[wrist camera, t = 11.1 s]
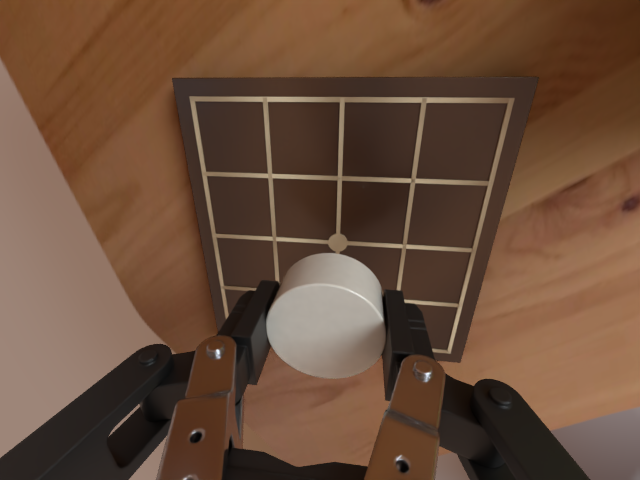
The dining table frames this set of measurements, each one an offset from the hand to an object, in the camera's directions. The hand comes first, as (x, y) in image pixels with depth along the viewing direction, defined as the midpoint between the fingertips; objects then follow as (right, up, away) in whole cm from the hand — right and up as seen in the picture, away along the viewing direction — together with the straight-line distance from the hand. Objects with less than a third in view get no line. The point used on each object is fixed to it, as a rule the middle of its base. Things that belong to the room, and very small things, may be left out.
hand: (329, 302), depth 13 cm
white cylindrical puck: (0, 0, 0) cm, 0 cm away
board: (+1, +3, +7) cm, 7 cm away
